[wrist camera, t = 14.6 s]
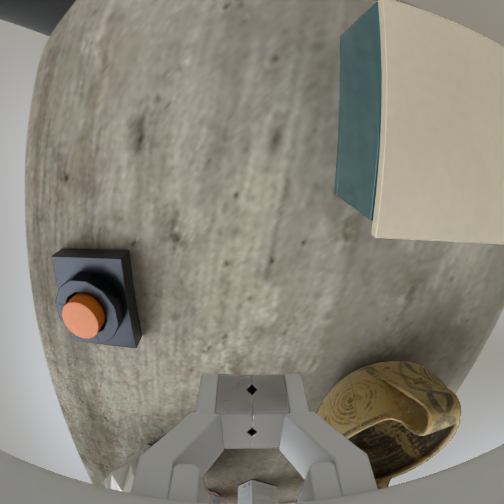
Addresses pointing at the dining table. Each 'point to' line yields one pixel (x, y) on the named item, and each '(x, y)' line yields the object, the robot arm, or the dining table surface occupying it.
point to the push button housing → (100, 291)
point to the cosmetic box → (257, 493)
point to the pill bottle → (215, 497)
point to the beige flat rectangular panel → (439, 130)
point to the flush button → (83, 315)
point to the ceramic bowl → (393, 415)
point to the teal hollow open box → (360, 113)
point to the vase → (132, 474)
